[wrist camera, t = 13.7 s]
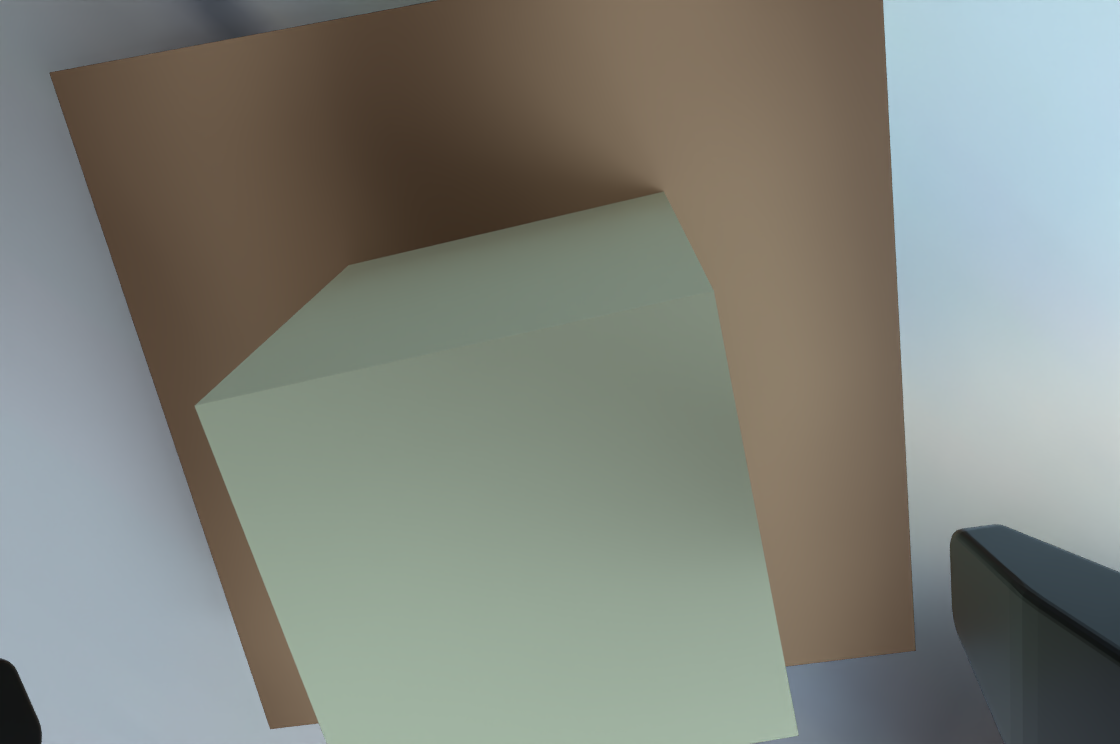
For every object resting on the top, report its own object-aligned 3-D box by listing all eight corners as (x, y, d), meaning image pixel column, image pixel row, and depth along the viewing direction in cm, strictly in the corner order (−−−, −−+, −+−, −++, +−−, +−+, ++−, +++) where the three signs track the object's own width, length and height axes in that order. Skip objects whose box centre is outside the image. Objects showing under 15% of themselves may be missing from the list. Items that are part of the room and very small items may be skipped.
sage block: (663, 191, 14) (714, 290, 8) (723, 485, 16) (799, 735, 10) (348, 265, 15) (194, 405, 9) (436, 542, 16) (353, 810, 10)
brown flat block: (812, -56, 16) (878, -82, 13) (855, 537, 20) (915, 650, 17) (165, 64, 17) (49, 72, 14) (326, 607, 21) (270, 729, 18)
